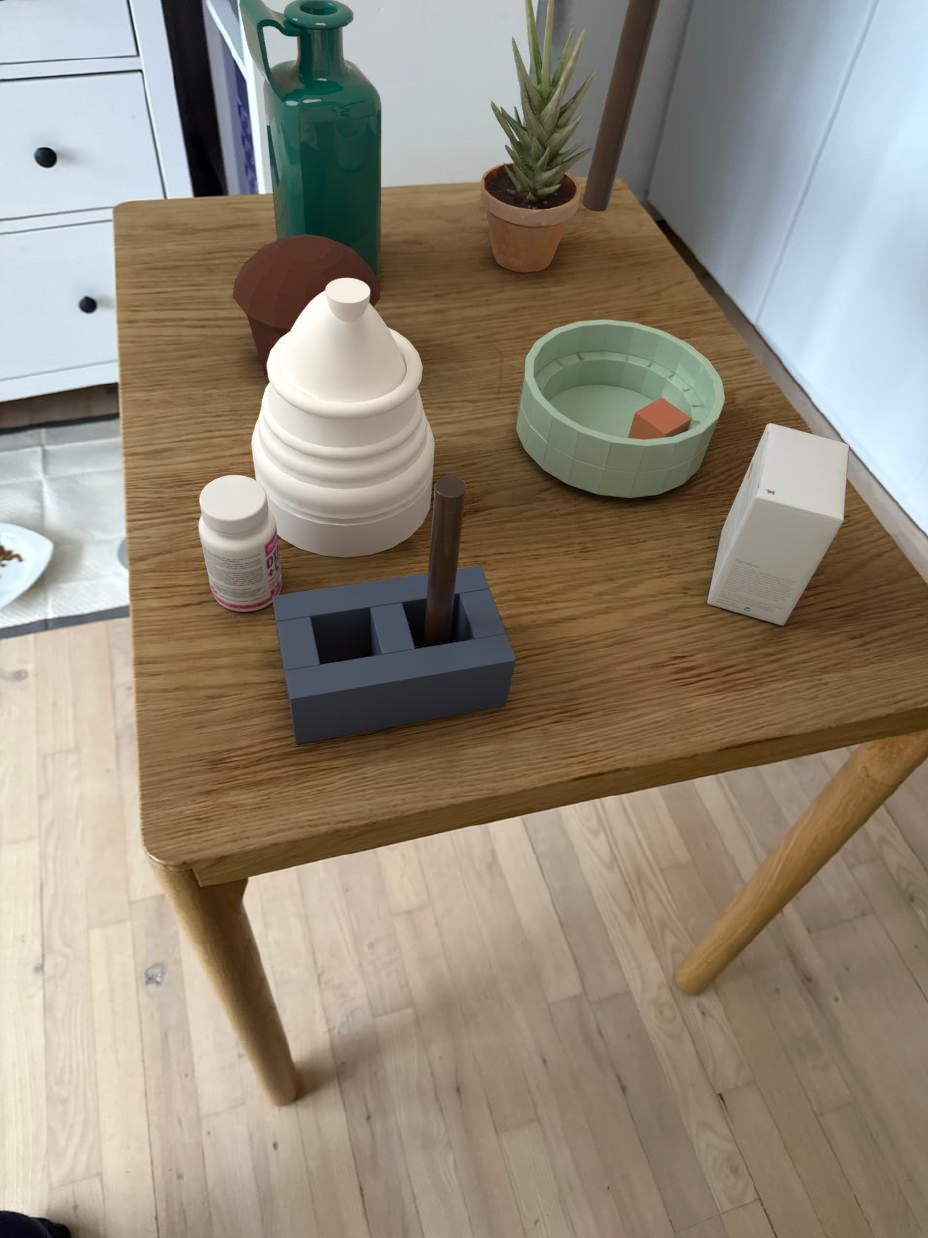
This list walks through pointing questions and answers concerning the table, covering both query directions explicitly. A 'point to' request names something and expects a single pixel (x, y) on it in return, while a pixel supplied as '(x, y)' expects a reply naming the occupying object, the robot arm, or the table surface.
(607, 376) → the bowl
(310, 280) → the muffin
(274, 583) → the pill bottle
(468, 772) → the table surface
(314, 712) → the stand
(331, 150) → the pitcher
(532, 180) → the potted plant
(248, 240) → the table surface
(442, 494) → the brown wooden peg
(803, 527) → the small box
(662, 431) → the block
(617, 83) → the brown rod
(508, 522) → the table surface
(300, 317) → the honey pot
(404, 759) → the table surface
